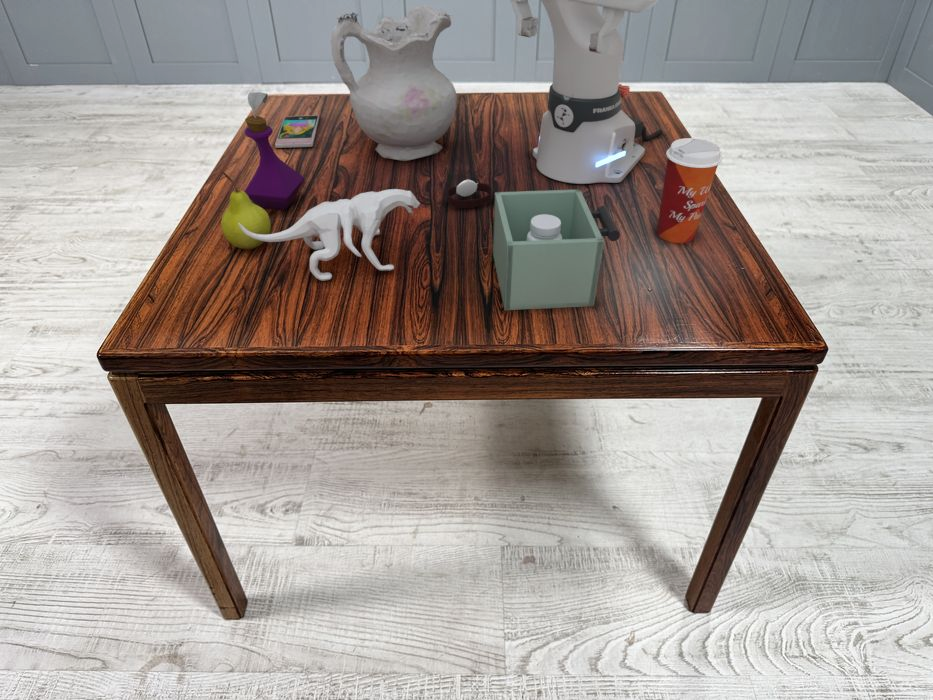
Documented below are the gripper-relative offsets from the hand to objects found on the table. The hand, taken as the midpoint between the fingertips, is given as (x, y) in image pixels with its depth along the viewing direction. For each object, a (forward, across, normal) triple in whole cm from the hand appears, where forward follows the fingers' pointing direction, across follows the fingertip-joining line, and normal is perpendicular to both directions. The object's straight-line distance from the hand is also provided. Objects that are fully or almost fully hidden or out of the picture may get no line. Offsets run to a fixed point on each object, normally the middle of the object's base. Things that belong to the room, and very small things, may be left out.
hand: (561, 43), depth 72 cm
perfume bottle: (+31, +46, +10) cm, 57 cm away
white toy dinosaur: (+31, +25, +15) cm, 43 cm away
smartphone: (+31, +67, -11) cm, 75 cm away
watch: (+31, +22, -11) cm, 40 cm away
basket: (+26, +4, +4) cm, 27 cm away
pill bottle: (+30, 0, 0) cm, 31 cm away
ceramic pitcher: (+31, +46, -19) cm, 59 cm away
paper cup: (+31, -9, -24) cm, 40 cm away
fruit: (+31, +38, +21) cm, 54 cm away
